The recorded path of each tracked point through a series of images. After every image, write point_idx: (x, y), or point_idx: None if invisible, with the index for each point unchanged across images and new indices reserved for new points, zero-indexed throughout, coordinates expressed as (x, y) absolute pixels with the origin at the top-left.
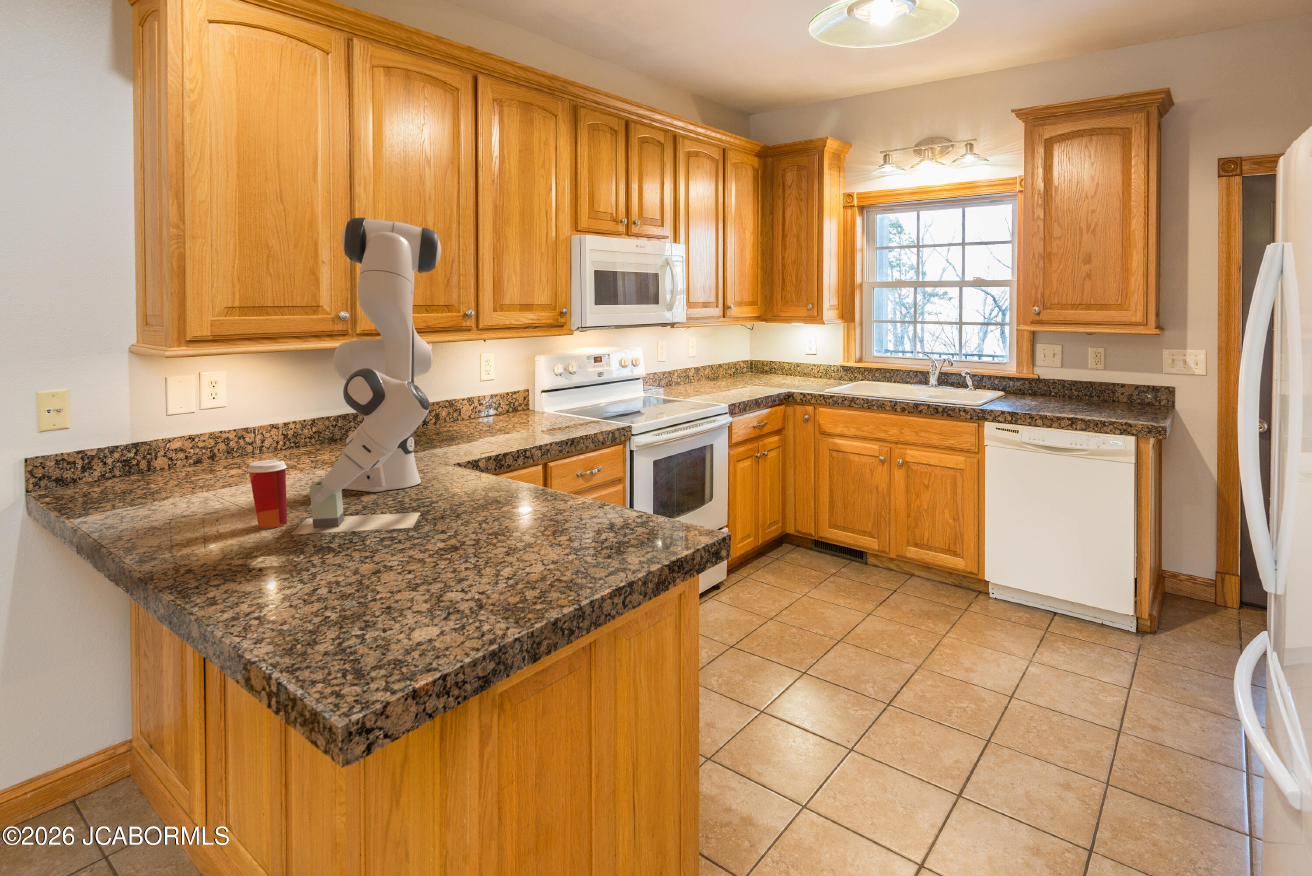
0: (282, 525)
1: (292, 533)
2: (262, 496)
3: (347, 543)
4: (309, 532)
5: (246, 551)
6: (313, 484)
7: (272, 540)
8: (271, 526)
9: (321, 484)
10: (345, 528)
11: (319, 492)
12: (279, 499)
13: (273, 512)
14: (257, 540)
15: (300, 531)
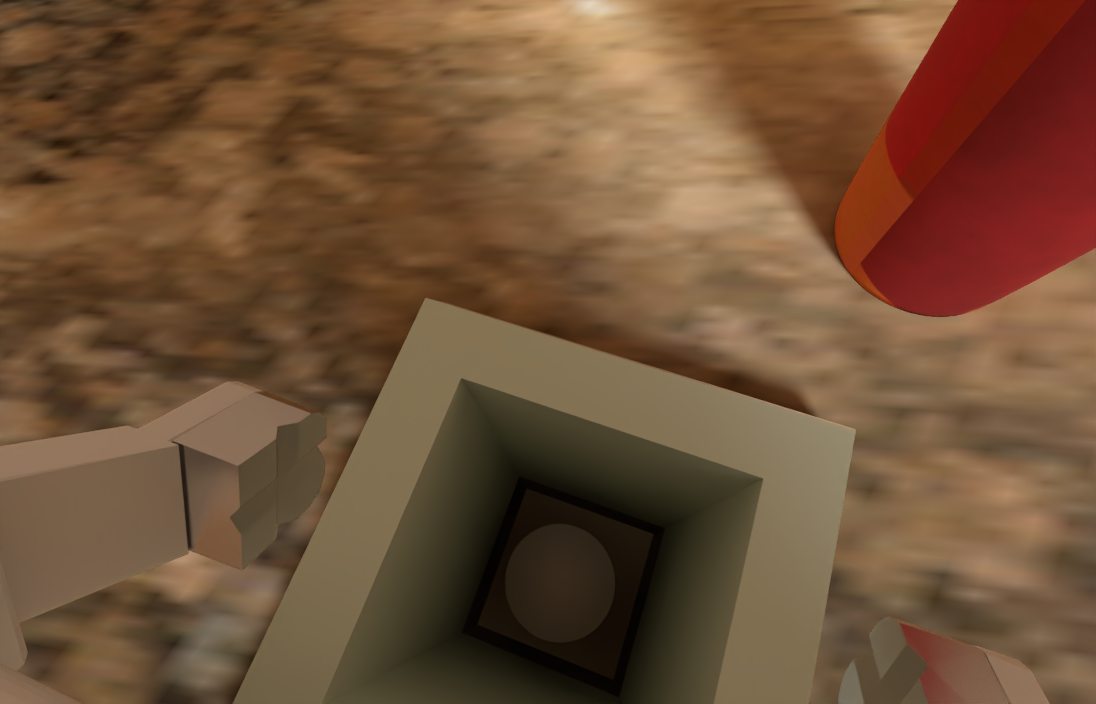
0: (869, 289)
1: None
2: (957, 3)
3: (156, 664)
4: None
5: (399, 125)
6: (556, 365)
7: (540, 232)
8: (837, 225)
9: (735, 526)
10: None
11: (127, 433)
12: (972, 156)
13: (882, 181)
14: (585, 166)
15: None
